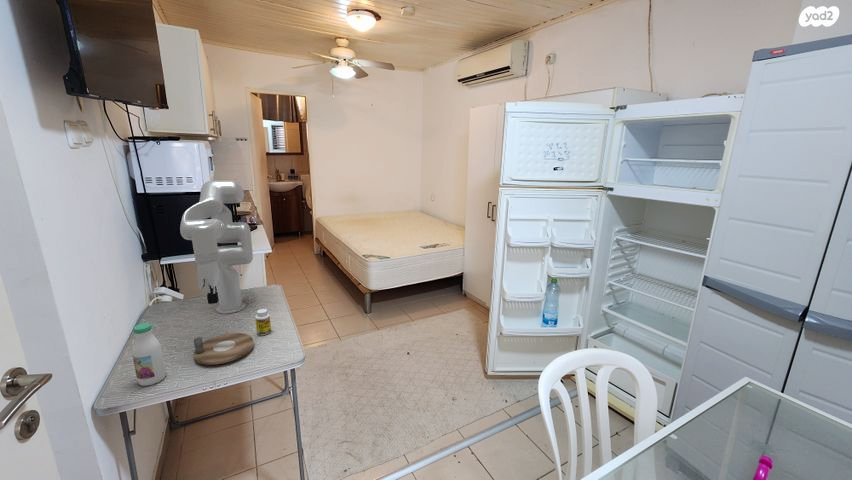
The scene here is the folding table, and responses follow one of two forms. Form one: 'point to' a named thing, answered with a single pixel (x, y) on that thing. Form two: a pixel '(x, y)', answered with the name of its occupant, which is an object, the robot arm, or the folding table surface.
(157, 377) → the milk bottle
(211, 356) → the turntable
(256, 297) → the folding table surface
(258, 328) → the supplement bottle
